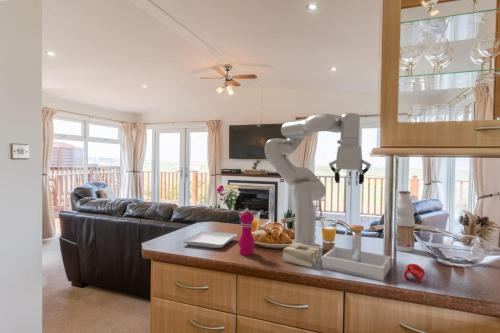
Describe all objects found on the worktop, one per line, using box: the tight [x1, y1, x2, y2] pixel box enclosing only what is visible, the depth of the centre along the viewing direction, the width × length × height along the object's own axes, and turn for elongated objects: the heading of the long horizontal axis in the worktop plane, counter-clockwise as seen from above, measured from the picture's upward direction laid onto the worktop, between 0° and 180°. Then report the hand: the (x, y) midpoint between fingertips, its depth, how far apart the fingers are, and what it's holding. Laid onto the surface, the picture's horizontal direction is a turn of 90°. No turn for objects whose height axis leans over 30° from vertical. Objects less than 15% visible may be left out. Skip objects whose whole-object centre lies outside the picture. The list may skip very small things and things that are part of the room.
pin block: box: [282, 243, 322, 268], centre depth 126 cm, size 12×12×5 cm
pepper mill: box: [238, 208, 256, 256], centre depth 134 cm, size 7×7×20 cm
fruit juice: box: [396, 190, 416, 253], centre depth 145 cm, size 9×9×28 cm
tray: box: [321, 246, 392, 282], centre depth 118 cm, size 16×22×4 cm
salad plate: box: [182, 231, 238, 249], centre depth 151 cm, size 21×21×3 cm
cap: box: [403, 263, 426, 284], centre depth 106 cm, size 8×6×6 cm
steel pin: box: [350, 224, 365, 263], centre depth 118 cm, size 5×5×15 cm
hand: (348, 183), depth 128 cm, fingers open, 9 cm apart
